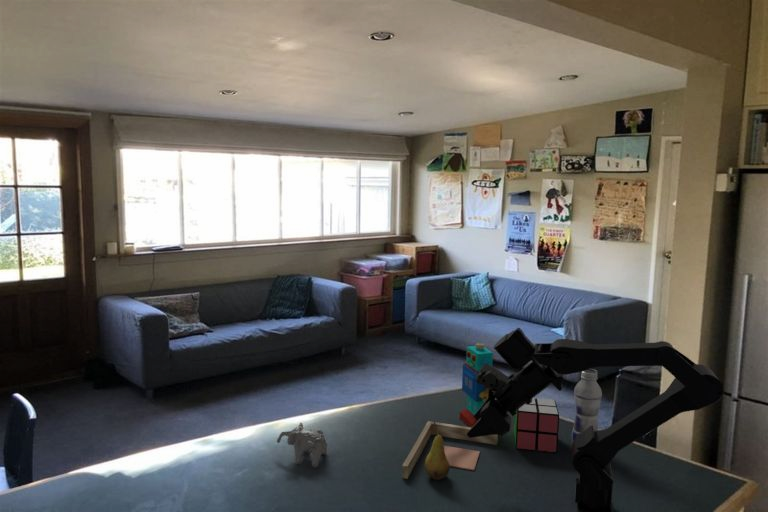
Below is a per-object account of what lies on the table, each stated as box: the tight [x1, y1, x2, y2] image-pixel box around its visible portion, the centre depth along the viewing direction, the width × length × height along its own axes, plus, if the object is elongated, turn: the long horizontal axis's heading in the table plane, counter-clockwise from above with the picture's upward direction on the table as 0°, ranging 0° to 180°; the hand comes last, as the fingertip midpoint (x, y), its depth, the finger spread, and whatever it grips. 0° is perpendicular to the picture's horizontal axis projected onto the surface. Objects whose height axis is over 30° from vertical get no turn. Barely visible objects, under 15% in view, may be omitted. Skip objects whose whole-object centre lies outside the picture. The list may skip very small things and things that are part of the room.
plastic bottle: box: [570, 368, 603, 443], centre depth 136 cm, size 6×7×20 cm
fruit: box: [424, 421, 451, 481], centre depth 122 cm, size 6×6×12 cm
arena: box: [401, 420, 499, 480], centre depth 131 cm, size 18×24×3 cm
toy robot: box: [459, 334, 494, 428], centre depth 149 cm, size 12×6×25 cm, turn 17°
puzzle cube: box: [513, 397, 560, 453], centre depth 140 cm, size 10×10×10 cm
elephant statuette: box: [276, 422, 328, 468], centre depth 130 cm, size 9×12×8 cm
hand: (471, 426), depth 119 cm, fingers open, 9 cm apart
